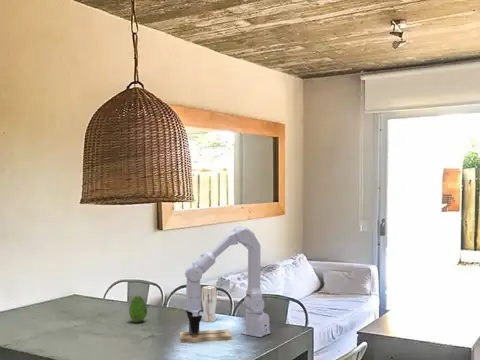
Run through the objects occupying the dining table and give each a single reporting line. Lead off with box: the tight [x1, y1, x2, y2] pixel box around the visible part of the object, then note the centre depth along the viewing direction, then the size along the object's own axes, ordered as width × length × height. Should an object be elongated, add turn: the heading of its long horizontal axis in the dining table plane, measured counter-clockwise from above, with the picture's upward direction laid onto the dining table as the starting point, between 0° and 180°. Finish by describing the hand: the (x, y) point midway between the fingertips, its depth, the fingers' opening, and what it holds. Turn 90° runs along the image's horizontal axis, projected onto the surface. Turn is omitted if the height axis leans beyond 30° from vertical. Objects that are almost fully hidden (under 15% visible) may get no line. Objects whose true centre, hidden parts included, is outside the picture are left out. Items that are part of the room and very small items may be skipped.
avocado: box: [128, 294, 148, 323], centre depth 246 cm, size 8×8×12 cm
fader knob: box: [188, 322, 200, 335], centre depth 218 cm, size 4×2×4 cm, turn 100°
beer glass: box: [201, 285, 218, 323], centre depth 248 cm, size 7×7×15 cm
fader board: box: [178, 329, 233, 344], centre depth 219 cm, size 20×10×2 cm, turn 100°
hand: (194, 330), depth 218 cm, fingers open, 7 cm apart
